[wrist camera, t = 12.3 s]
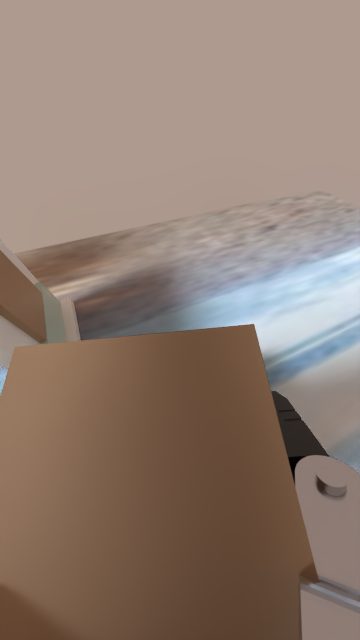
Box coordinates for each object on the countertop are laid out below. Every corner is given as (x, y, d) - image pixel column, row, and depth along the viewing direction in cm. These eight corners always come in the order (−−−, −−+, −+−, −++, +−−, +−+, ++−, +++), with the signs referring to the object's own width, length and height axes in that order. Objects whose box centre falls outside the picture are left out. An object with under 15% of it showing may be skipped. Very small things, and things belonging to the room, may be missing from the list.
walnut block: (137, 519, 13) (-107, 773, 3) (138, 419, 16) (14, 346, 5) (229, 511, 13) (361, 747, 2) (216, 413, 15) (254, 324, 5)
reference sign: (46, 399, 22) (-110, 340, 11) (38, 314, 27) (-76, 212, 16) (89, 383, 23) (-20, 311, 12) (73, 302, 28) (-13, 195, 16)
